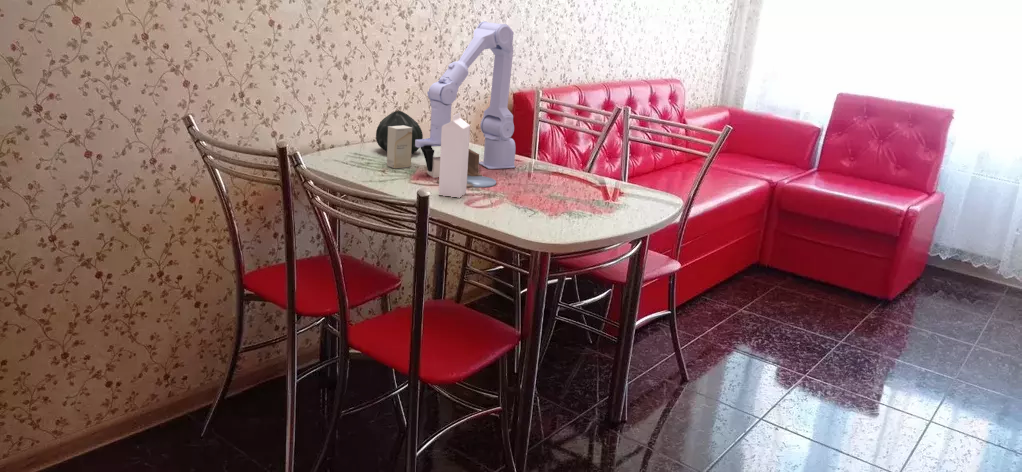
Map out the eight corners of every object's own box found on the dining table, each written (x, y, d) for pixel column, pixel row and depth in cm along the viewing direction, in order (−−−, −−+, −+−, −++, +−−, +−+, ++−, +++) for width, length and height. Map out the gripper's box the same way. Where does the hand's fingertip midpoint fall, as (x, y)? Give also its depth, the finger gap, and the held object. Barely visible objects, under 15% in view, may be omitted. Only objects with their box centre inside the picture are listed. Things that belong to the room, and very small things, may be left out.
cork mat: (460, 179, 216) (460, 177, 216) (475, 186, 211) (475, 184, 210) (436, 182, 212) (436, 180, 212) (452, 189, 206) (452, 187, 206)
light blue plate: (486, 176, 222) (486, 174, 222) (502, 186, 213) (502, 184, 213) (452, 178, 217) (452, 176, 217) (467, 188, 208) (467, 186, 208)
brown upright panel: (464, 167, 231) (465, 145, 229) (482, 177, 221) (483, 154, 218) (453, 167, 230) (455, 145, 228) (471, 178, 219) (472, 155, 217)
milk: (438, 195, 199) (441, 113, 192) (445, 190, 205) (448, 110, 198) (460, 198, 198) (463, 116, 191) (466, 193, 204) (470, 113, 196)
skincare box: (394, 169, 223) (395, 129, 219) (386, 165, 225) (387, 126, 222) (411, 166, 227) (413, 127, 223) (403, 163, 230) (404, 124, 226)
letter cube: (442, 172, 223) (443, 156, 221) (449, 176, 219) (450, 160, 217) (427, 173, 221) (428, 156, 219) (433, 177, 217) (434, 160, 215)
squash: (411, 129, 253) (387, 98, 242) (437, 140, 243) (414, 108, 232) (383, 159, 249) (358, 129, 239) (409, 171, 239) (384, 140, 229)
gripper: (422, 127, 208) (420, 174, 213) (469, 127, 215) (466, 172, 219) (413, 123, 214) (411, 168, 219) (459, 122, 221) (457, 166, 225)
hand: (438, 170), depth 219 cm, fingers closed on letter cube, 5 cm apart
